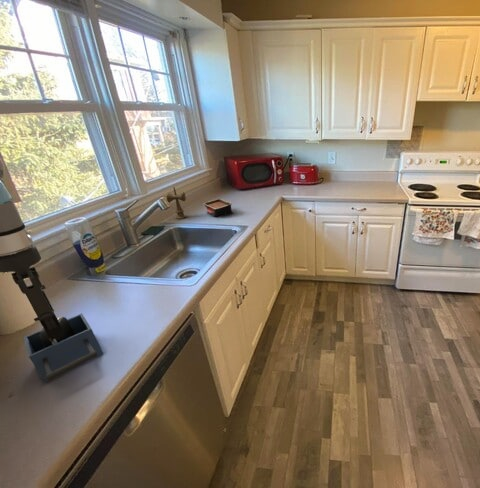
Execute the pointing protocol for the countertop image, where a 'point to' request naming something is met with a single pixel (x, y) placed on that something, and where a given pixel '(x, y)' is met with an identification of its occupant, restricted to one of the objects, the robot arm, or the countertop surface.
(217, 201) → the square planter pot
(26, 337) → the handled carry box
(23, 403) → the countertop surface
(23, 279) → the robot arm
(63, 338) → the battery charger
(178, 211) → the kendama
